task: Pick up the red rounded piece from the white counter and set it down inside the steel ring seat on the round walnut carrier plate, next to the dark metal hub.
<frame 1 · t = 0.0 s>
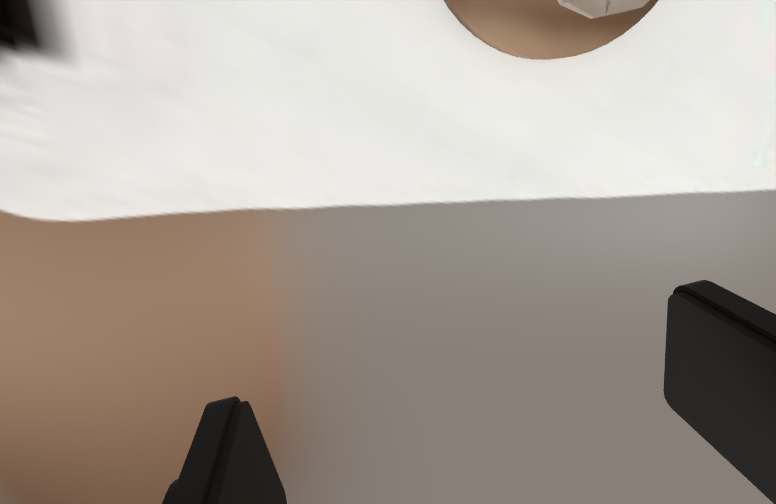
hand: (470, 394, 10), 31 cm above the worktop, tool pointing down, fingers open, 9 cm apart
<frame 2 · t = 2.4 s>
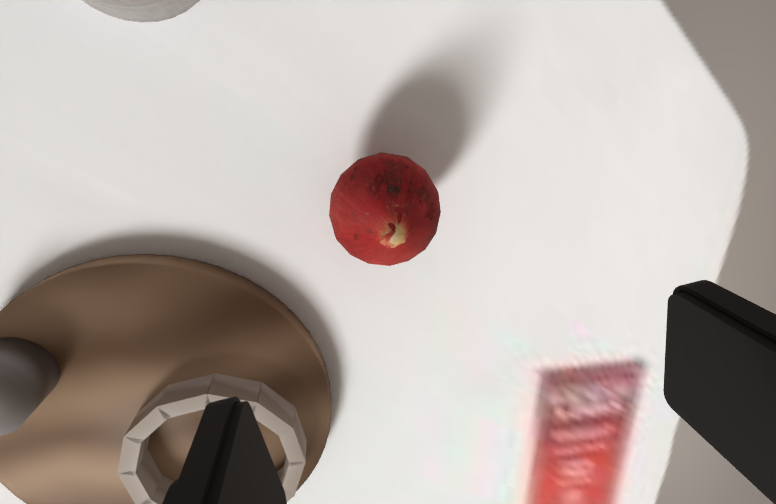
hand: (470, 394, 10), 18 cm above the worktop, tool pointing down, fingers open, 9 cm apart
red rounded piece: (376, 193, 27), on the worktop
carrier plate: (167, 405, 30), on the worktop
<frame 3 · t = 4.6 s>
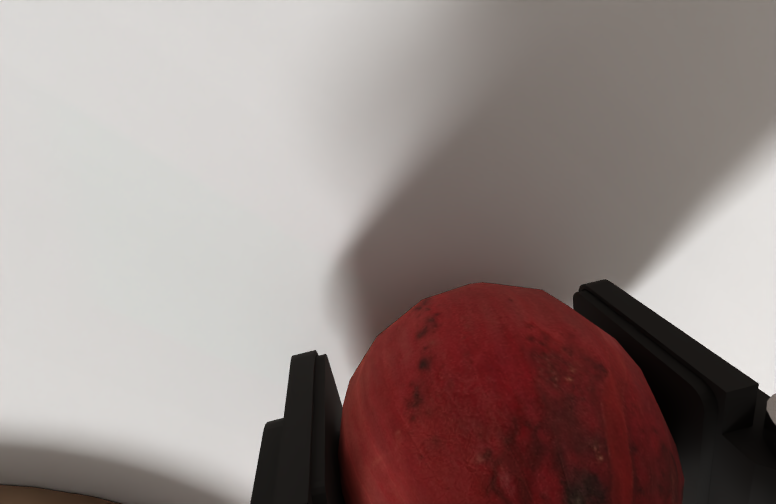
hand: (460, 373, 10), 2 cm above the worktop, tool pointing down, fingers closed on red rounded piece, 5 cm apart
red rounded piece: (441, 333, 12), on the worktop, touching gripper
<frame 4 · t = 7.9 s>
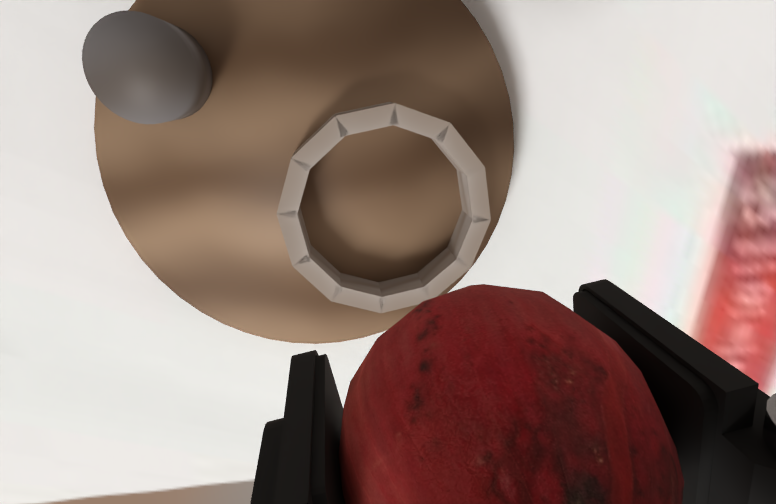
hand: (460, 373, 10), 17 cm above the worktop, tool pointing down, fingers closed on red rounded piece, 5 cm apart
red rounded piece: (442, 334, 12), point 15 cm above the worktop, touching gripper
carrier plate: (318, 162, 25), on the worktop
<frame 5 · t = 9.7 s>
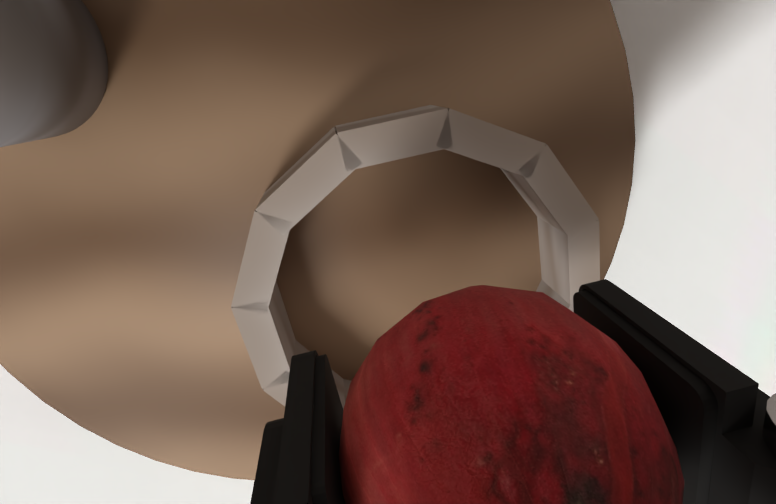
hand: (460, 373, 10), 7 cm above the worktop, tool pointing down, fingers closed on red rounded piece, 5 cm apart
red rounded piece: (442, 334, 12), point 5 cm above the worktop, touching gripper
carrier plate: (307, 204, 15), on the worktop
when the fingers open (4 cm above the worktop, at t = 11.1 s): red rounded piece drops 1 cm, resting on carrier plate.
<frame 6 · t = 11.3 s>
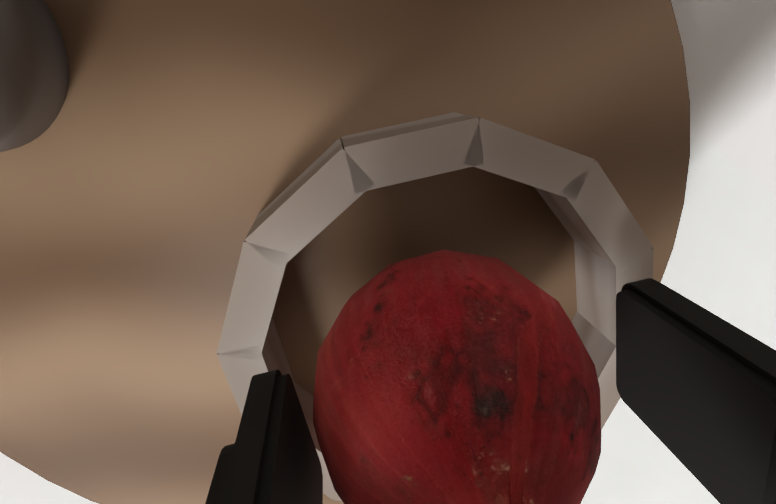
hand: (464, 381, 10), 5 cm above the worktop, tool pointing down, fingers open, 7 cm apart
red rounded piece: (425, 307, 13), point 1 cm above the worktop, touching carrier plate
carrier plate: (308, 226, 13), on the worktop
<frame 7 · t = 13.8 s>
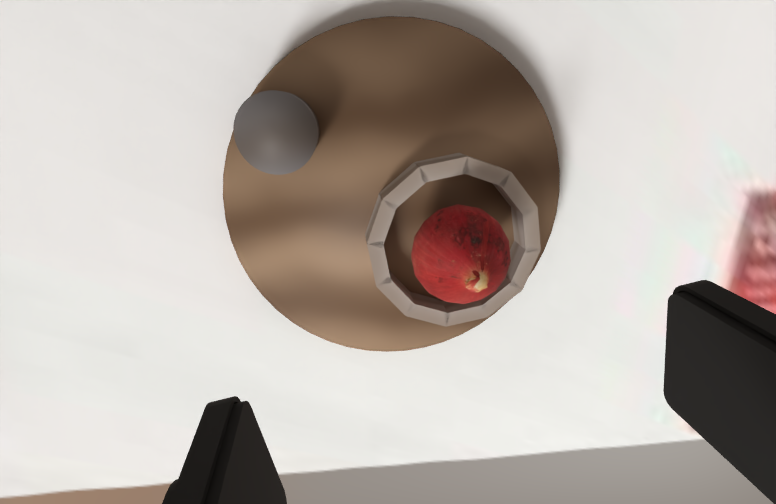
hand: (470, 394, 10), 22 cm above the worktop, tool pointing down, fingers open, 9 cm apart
red rounded piece: (445, 235, 30), point 1 cm above the worktop, touching carrier plate
carrier plate: (394, 199, 30), on the worktop
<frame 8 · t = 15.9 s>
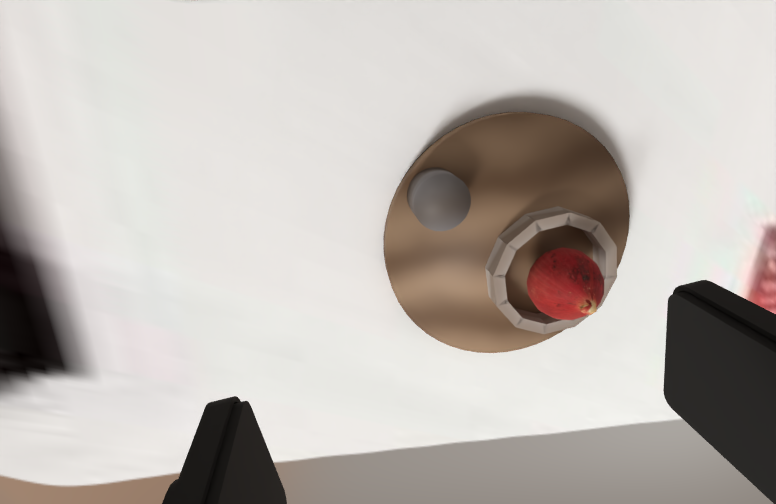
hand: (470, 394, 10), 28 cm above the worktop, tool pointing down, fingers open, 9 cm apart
red rounded piece: (542, 265, 40), point 1 cm above the worktop, touching carrier plate
carrier plate: (504, 239, 40), on the worktop
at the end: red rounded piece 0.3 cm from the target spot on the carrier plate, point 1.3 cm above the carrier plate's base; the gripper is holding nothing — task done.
